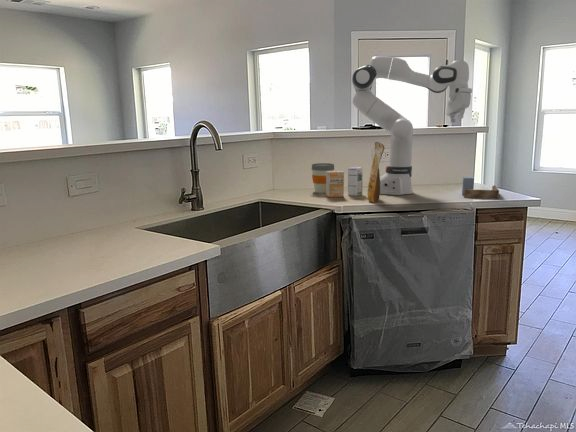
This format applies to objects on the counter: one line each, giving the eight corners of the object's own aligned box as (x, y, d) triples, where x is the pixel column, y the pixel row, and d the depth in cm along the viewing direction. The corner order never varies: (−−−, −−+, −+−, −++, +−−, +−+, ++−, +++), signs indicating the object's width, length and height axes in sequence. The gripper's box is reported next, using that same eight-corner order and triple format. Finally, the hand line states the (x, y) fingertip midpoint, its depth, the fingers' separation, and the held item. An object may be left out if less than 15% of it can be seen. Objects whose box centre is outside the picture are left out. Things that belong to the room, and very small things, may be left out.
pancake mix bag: (380, 196, 233) (381, 141, 227) (383, 203, 214) (384, 143, 208) (366, 196, 234) (367, 141, 228) (368, 203, 215) (369, 143, 209)
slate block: (462, 195, 232) (463, 178, 230) (461, 194, 237) (462, 176, 235) (472, 195, 231) (474, 178, 229) (472, 194, 235) (473, 177, 233)
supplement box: (329, 197, 232) (329, 172, 229) (325, 196, 236) (325, 171, 233) (344, 196, 234) (344, 171, 231) (340, 195, 238) (340, 170, 236)
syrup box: (357, 196, 236) (357, 168, 233) (347, 195, 239) (347, 167, 236) (362, 194, 240) (362, 167, 237) (352, 193, 244) (353, 166, 241)
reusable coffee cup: (338, 192, 249) (338, 164, 245) (317, 193, 244) (317, 166, 241) (328, 189, 260) (328, 162, 257) (308, 190, 255) (307, 163, 252)
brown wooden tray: (464, 197, 226) (464, 189, 225) (462, 192, 242) (463, 184, 241) (498, 198, 222) (499, 190, 221) (494, 193, 237) (495, 185, 236)
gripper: (444, 98, 239) (442, 124, 239) (461, 86, 219) (459, 115, 218) (455, 99, 240) (454, 125, 239) (473, 88, 219) (472, 116, 219)
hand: (456, 120), depth 229 cm, fingers open, 8 cm apart
